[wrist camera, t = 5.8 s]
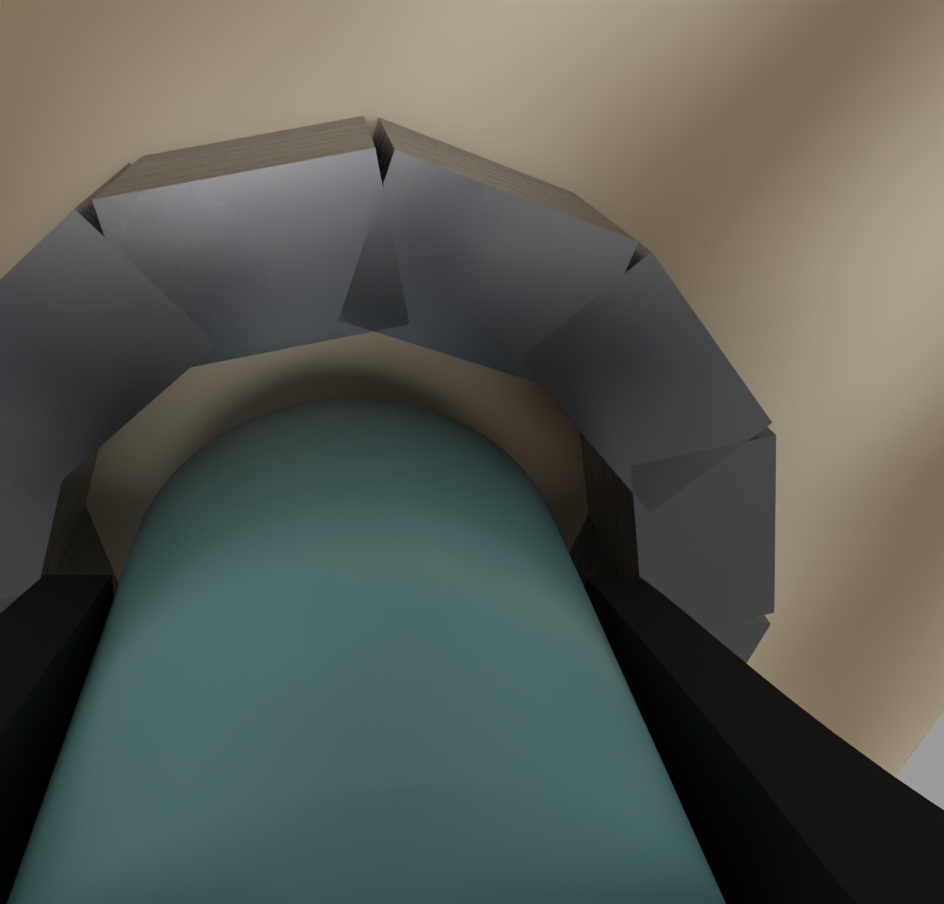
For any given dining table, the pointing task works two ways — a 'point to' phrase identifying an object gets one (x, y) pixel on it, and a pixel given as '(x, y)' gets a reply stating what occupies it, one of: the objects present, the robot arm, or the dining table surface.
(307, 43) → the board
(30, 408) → the grey faceted ring
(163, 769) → the cap
